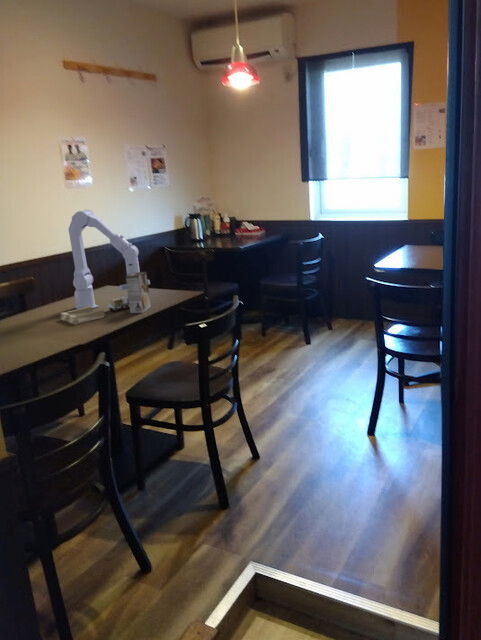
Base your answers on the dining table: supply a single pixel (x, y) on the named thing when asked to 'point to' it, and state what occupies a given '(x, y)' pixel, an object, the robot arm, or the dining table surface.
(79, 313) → the dock bay
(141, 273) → the coffee box
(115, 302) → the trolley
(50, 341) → the dining table surface
